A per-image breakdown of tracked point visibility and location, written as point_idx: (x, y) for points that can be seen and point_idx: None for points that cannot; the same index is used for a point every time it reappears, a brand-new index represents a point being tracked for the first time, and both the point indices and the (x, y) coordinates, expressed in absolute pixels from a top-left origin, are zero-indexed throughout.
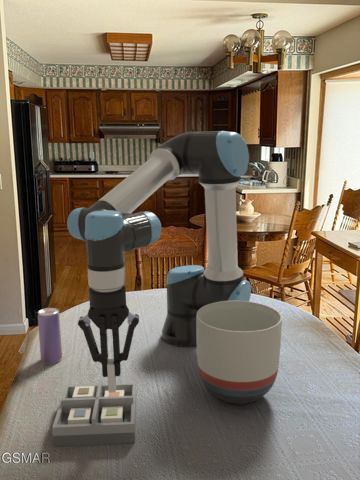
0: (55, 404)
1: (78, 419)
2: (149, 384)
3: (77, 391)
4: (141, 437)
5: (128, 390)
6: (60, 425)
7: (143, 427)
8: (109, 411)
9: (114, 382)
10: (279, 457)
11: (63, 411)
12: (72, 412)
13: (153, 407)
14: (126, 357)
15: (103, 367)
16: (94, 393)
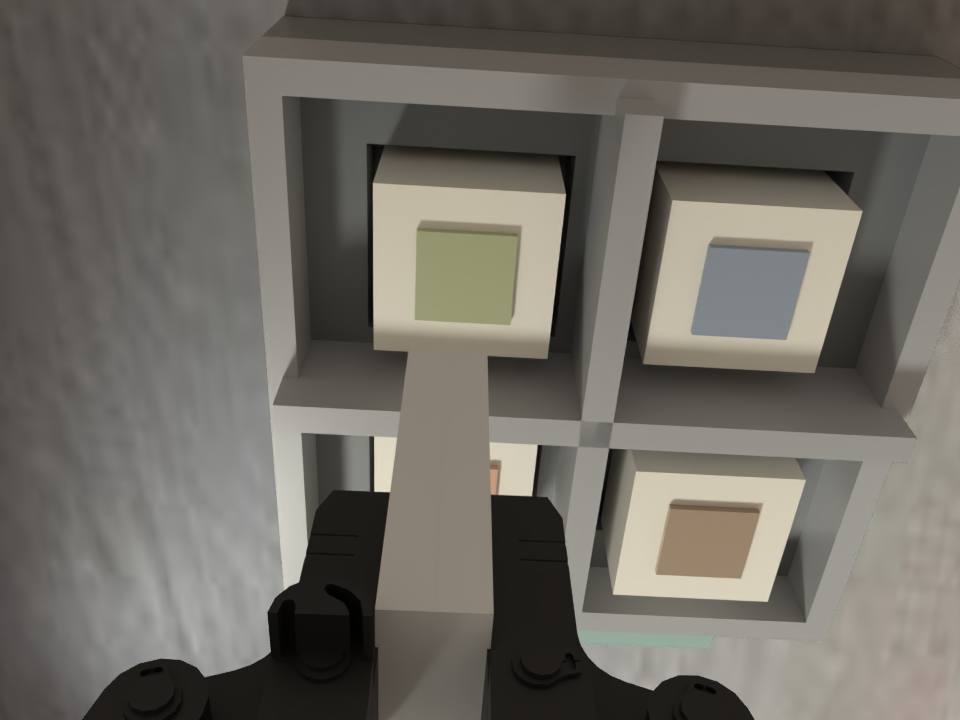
0: None
1: (766, 207)
2: (236, 650)
3: (755, 544)
4: (235, 83)
5: None
6: (944, 125)
7: (231, 208)
8: (487, 282)
9: (406, 421)
10: None
11: (858, 379)
12: (808, 315)
13: (181, 426)
14: (120, 709)
15: (551, 601)
16: (609, 540)
